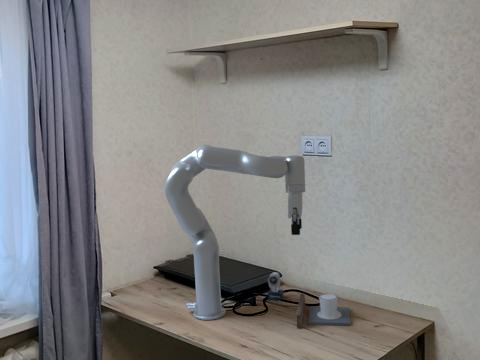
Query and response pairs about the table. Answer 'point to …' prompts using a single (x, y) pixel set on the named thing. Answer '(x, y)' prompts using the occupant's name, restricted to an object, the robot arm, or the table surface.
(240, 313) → the table surface
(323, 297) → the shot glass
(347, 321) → the mat
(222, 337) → the table surface
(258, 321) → the table surface
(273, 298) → the watch
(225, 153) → the robot arm
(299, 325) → the divider wall
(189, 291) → the table surface
